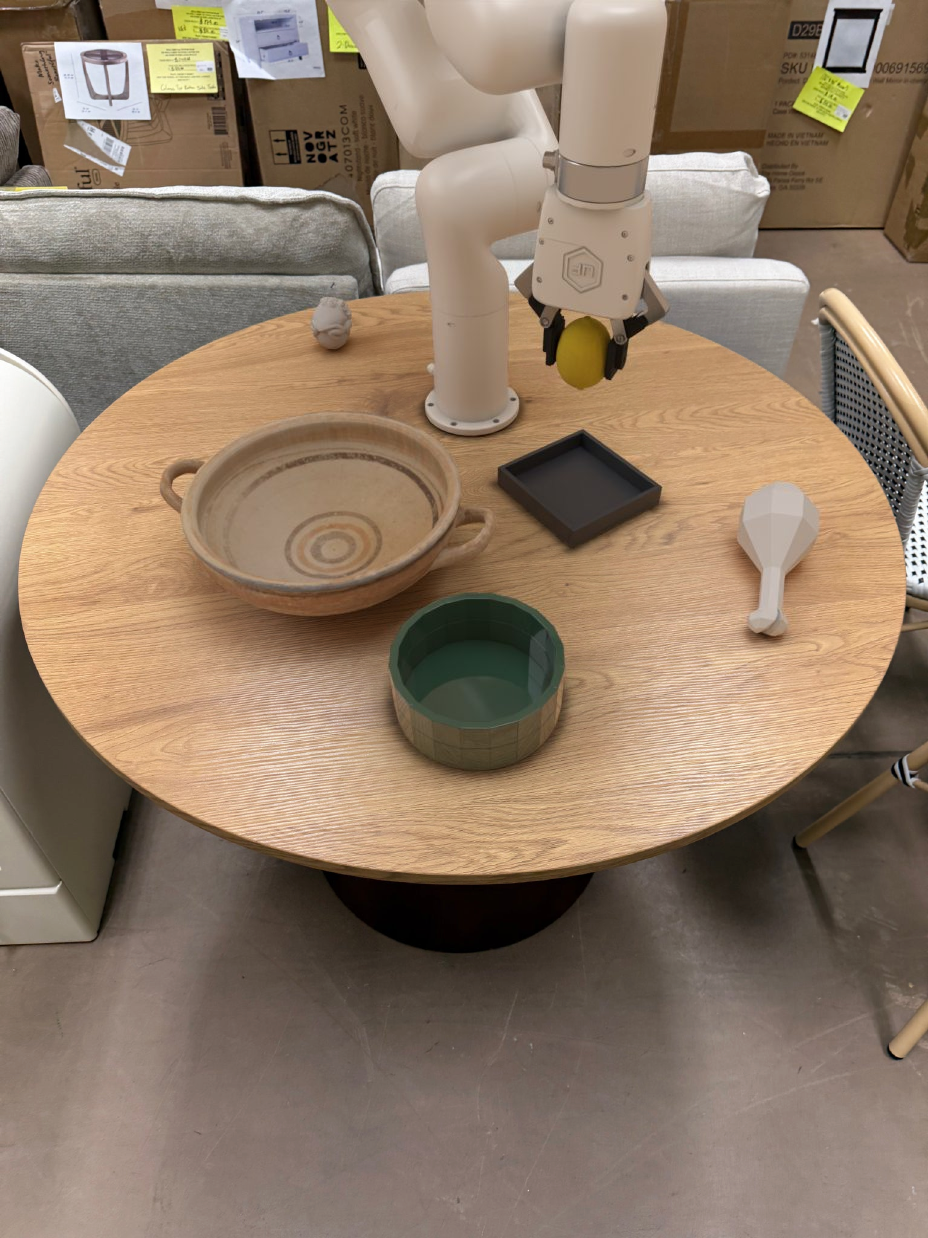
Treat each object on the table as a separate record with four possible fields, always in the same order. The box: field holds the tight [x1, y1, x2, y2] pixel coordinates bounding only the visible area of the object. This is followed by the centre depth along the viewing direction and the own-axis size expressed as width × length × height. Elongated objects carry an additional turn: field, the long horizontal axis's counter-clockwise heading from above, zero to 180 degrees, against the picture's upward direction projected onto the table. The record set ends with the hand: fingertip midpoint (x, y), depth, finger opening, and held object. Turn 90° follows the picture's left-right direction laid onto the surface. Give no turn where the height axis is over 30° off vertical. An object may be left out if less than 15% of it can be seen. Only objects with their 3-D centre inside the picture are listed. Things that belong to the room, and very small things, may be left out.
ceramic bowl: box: [159, 410, 498, 617], centre depth 87 cm, size 37×29×10 cm
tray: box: [496, 428, 663, 550], centre depth 96 cm, size 14×13×3 cm
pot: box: [388, 592, 566, 771], centre depth 75 cm, size 16×16×6 cm
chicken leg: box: [736, 480, 820, 637], centre depth 84 cm, size 8×18×8 cm, turn 165°
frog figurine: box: [310, 296, 353, 350], centre depth 119 cm, size 6×7×7 cm
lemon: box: [555, 315, 612, 391], centre depth 81 cm, size 6×6×8 cm
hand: (583, 364), depth 82 cm, fingers closed on lemon, 5 cm apart
